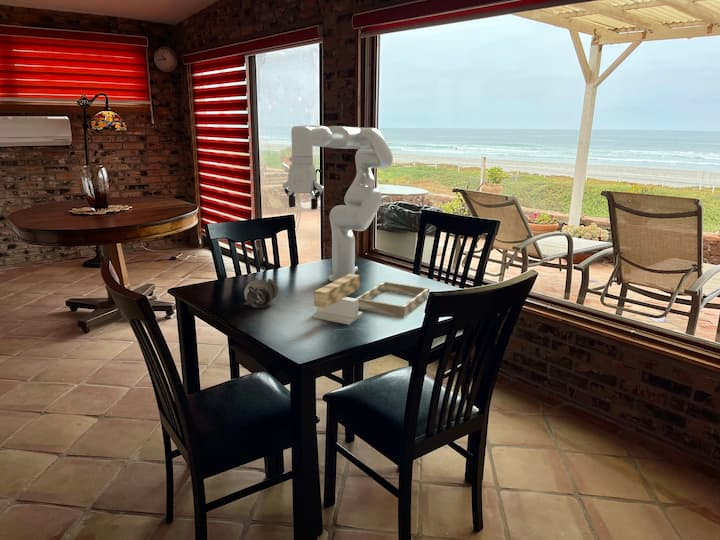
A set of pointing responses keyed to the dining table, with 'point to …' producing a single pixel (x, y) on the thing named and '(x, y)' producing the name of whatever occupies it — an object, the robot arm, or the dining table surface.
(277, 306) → the dining table surface
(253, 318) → the dining table surface
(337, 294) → the oak batten
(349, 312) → the ridge block
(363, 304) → the birch crate frame
